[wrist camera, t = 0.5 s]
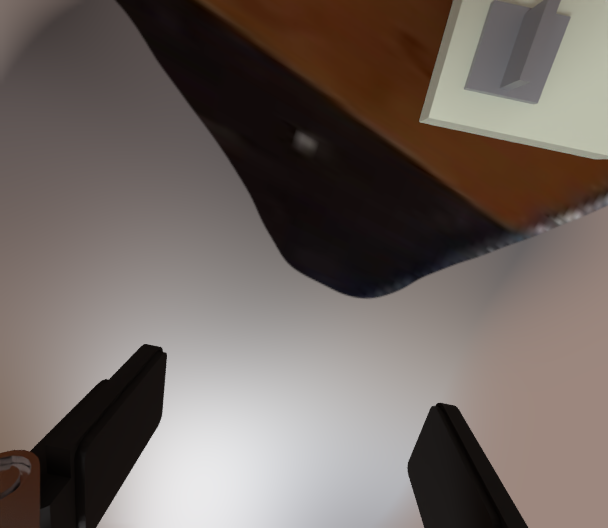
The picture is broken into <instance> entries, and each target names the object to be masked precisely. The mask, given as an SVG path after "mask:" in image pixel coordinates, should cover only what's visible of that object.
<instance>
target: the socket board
mask: <svg viewBox="0 0 608 528" xmlns="http://www.w3.org/2000/svg"><path fill="white" fill-rule="evenodd" d="M493 1H494V0H453V3H452V7H451V10H450V14H449V17H448V21H447V24H446V28H445V31H444V35H443V38H442V42H441V45H440V49H439V53H438V56H437V60H436V63H435V67H434V70H433V74H432V77H431V81H430V84H429V88H428V91H427V95H426V99H425V102H424V106H423V109H422V113H421V116H420V120H419V122H421V123H426V124H431V125H435V126H440V127H445V128H450V129H454V130H459V131H464V132H468V133H473V134H478V135H483V136H487V137H492V138H497V139H502V140H506V141H511V142H516V143H521V144H525V145H530V146H535V147H540V148H544V149H549V150H554V151H559V152H563V153H568V154H573V155H578V156H582V157H587V158H592V159H608V0H561V1H560V4H559V7H558V9H557V12H556V14H561V15H565V16H570V17H571V18H570V20H569V23H568V26H567V28H566V31H565V33H564V36H563V39H562V41H561V44H560V47H559V49H558V52H557V54H556V57H555V60H554V62H553V65H552V67H551V70H550V73H549V75H548V78H547V81H546V83H545V86H544V88H543V91H542V94H541V96H540V99H539V101H538V103H537V104H529V103H525V102H520V101H515V100H511V99H506V98H501V97H497V96H492V95H487V94H483V93H478V92H473V91H469V90H464V87H465V83H466V80H467V77H468V74H469V71H470V67H471V64H472V61H473V58H474V55H475V51H476V48H477V45H478V42H479V39H480V36H481V32H482V29H483V26H484V23H485V20H486V16H487V13H488V10H489V7H490V4H491V2H493ZM498 1H502V2H507V3H511V4H516V5H520V6H525V7H529V8H533V7H535V6H536V5H537V4H539V3H540V2H542V1H543V0H498Z"/></svg>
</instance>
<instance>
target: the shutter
mask: <svg viewBox="0 0 608 528" xmlns="http://www.w3.org/2000/svg"><path fill="white" fill-rule="evenodd" d="M560 1H561V0H543V1H542V2H540V3H539V4H537V5H536V6H535V7H533V8H529V7H525V6H520V5H516V4H511V3H507V2H502V1H498V0H494V1H493V2H491V4H490V7H489V10H488V13H487V16H486V20H485V23H484V26H483V29H482V32H481V36H480V39H479V42H478V45H477V48H476V51H475V55H474V58H473V61H472V64H471V67H470V71H469V74H468V77H467V80H466V83H465V87H464V90H469V91H473V92H478V93H483V94H487V95H492V96H497V97H501V98H506V99H511V100H515V101H520V102H525V103H529V104H537V103H538V101H539V99H540V96H541V94H542V91H543V88H544V86H545V83H546V81H547V78H548V75H549V73H550V70H551V67H552V65H553V62H554V60H555V57H556V54H557V52H558V49H559V47H560V44H561V41H562V39H563V36H564V33H565V31H566V28H567V26H568V23H569V20H570V18H571V17H570V16H565V15H561V14H556V12H557V9H558V7H559V4H560Z"/></svg>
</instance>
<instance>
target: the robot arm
mask: <svg viewBox="0 0 608 528" xmlns="http://www.w3.org/2000/svg"><path fill="white" fill-rule="evenodd" d="M166 359H167V354H166V353H164V352H163V350H162V348H161V347H158V346H153V345H148V344H144V345H143V346H141V347H140V348H139V349H138V350H137V352H135V353H134V354H133V355H132V356H131V357H130V359H129V360H128V361H127V362H126V363H125V364H124V365H123V366H122V367H121V368H120V369H119V370H118V371H117V372H116V373H115V374H114V375H113V376H112V377H111V378H110V379H109V380H107V379H105V380H102V381H101V382H100V383H98V384H97V385H96V386H95V387H94V388H93V389H92V390H91V391H90V392H89V393H88V394H87V395H86V396H85V397H84V398H83V399H82V400H81V401H80V402H79V403H78V404H77V405H76V406H75V407H74V408H73V409H72V410H71V411H70V412H69V413H68V414H67V415H66V416H65V417H64V418H63V419H62V420H61V421H60V422H59V423H58V424H57V425H56V426H55V427H54V428H53V429H52V430H51V431H50V432H49V433H48V434H47V435H46V436H45V437H44V438H43V439H42V440H41V441H40V442H39V443H38V444H37V445H36V446H35V447H34V448H33V449H32V450H31V451H30V452H29V451H26V450H12V451H7V452H3V453H0V528H96V527H97V525H98V523H99V522H100V520H101V518H102V517H103V515H104V514H105V512H106V510H107V509H108V507H109V505H110V504H111V502H112V500H113V499H114V497H115V495H116V494H117V492H118V491H119V489H120V487H121V486H122V484H123V482H124V481H125V479H126V477H127V476H128V474H129V473H130V471H131V469H132V468H133V466H134V464H135V463H136V461H137V459H138V458H139V456H140V455H141V453H142V451H143V449H144V448H145V446H146V445H147V443H148V441H149V440H150V438H151V436H152V435H153V433H154V432H155V430H156V428H157V427H158V425H159V423H160V420H161V417H162V409H163V397H164V385H165V373H166V372H165V371H166ZM408 475H409V478H410V482H411V485H412V488H413V492H414V494H415V498H416V501H417V505H418V508H419V512H420V515H421V518H422V521H423V525H424V528H528V526H527V525H526V523H525V521H524V520H523V518H522V516H521V514H520V513H519V511H518V510H517V508H516V506H515V504H514V503H513V501H512V499H511V498H510V496H509V494H508V493H507V491H506V489H505V487H504V486H503V484H502V482H501V481H500V479H499V477H498V475H497V474H496V472H495V470H494V469H493V467H492V465H491V464H490V462H489V460H488V458H487V457H486V455H485V454H484V452H483V450H482V448H481V447H480V445H479V443H478V442H477V440H476V438H475V437H474V435H473V433H472V431H471V430H470V428H469V426H468V424H467V423H466V421H465V419H464V418H463V416H462V414H461V413H460V411H459V409H458V408H457V407H456V406H453V405H448V404H443V403H437V404H436V406H432V407H431V409H430V411H429V413H428V416H427V418H426V421H425V423H424V425H423V428H422V430H421V433H420V435H419V437H418V440H417V442H416V445H415V447H414V450H413V452H412V455H411V457H410V459H409V462H408Z"/></svg>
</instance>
